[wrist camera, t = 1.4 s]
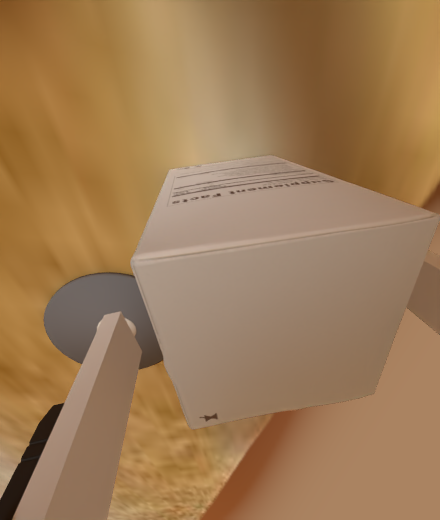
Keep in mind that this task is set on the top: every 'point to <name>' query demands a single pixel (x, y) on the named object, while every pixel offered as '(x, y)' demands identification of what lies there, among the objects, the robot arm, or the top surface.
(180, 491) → the top surface
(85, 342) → the base disk
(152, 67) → the top surface
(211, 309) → the supplement box
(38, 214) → the top surface
